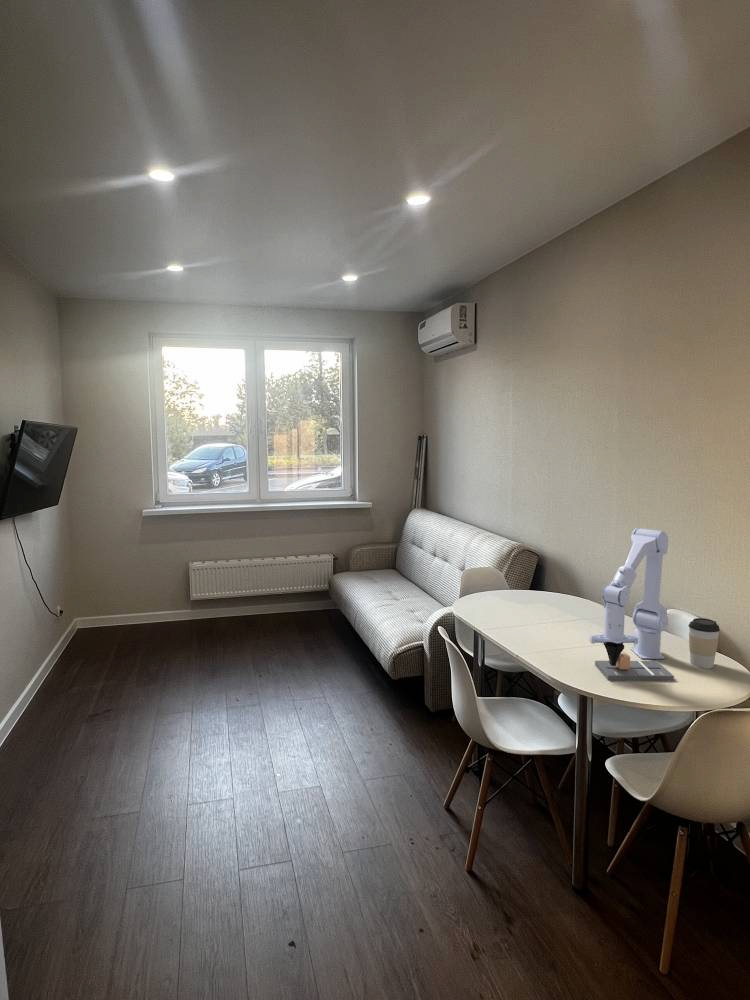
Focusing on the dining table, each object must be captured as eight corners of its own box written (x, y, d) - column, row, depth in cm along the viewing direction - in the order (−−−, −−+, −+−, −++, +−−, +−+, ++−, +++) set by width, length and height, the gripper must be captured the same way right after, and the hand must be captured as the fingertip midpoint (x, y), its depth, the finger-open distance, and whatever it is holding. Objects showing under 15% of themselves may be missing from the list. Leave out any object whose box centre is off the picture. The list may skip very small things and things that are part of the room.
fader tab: (615, 664, 193) (615, 651, 192) (624, 664, 193) (625, 651, 192) (620, 669, 189) (620, 656, 188) (629, 669, 188) (630, 656, 188)
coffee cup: (684, 666, 196) (687, 621, 194) (688, 657, 203) (690, 614, 201) (716, 672, 191) (719, 626, 189) (718, 662, 198) (721, 618, 196)
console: (595, 665, 197) (595, 660, 197) (656, 665, 196) (657, 660, 196) (608, 680, 185) (608, 675, 185) (673, 680, 184) (674, 675, 184)
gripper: (595, 627, 185) (593, 669, 187) (642, 627, 185) (640, 669, 186) (588, 620, 192) (586, 660, 194) (633, 620, 192) (632, 661, 193)
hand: (612, 664), depth 191 cm, fingers closed
